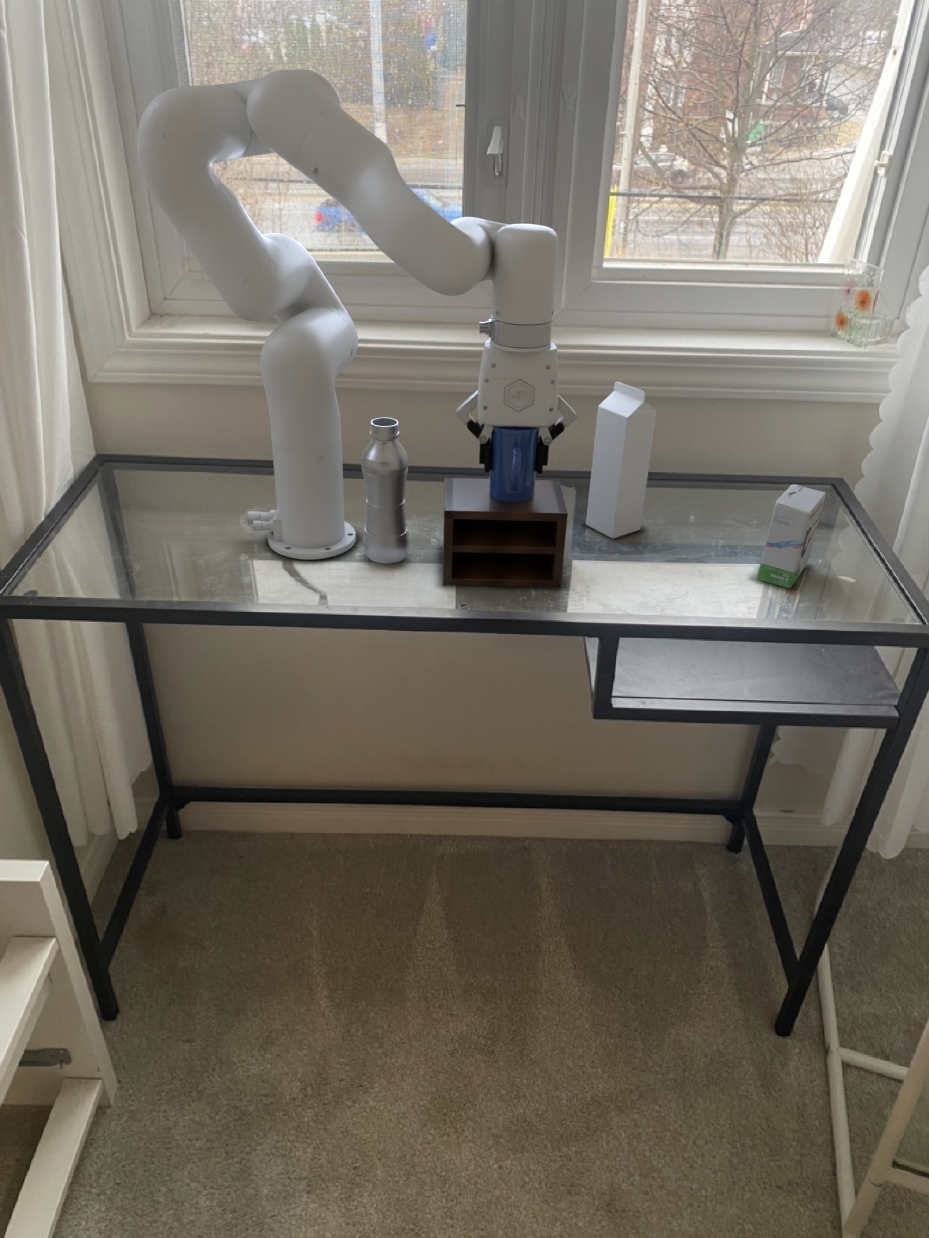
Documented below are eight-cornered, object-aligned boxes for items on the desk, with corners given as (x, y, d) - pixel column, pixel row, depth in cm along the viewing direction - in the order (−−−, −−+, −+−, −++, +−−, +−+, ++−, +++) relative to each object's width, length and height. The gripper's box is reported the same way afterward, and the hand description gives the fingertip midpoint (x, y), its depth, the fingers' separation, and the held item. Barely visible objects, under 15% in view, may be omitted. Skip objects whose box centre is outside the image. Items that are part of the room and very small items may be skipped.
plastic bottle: (374, 573, 132) (371, 433, 122) (356, 552, 137) (351, 417, 127) (417, 564, 135) (417, 427, 125) (397, 544, 140) (396, 411, 130)
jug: (488, 511, 124) (491, 437, 119) (485, 480, 133) (488, 410, 128) (539, 512, 125) (545, 438, 120) (533, 481, 133) (538, 411, 128)
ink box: (773, 557, 140) (789, 481, 134) (808, 566, 138) (827, 490, 132) (755, 580, 134) (771, 502, 128) (792, 590, 132) (810, 511, 126)
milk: (612, 539, 144) (629, 395, 132) (584, 524, 148) (599, 384, 136) (641, 529, 147) (660, 388, 136) (613, 515, 151) (629, 377, 140)
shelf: (442, 585, 130) (444, 510, 124) (443, 548, 139) (444, 477, 134) (560, 587, 130) (567, 513, 125) (553, 551, 140) (559, 480, 134)
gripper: (451, 339, 115) (447, 479, 124) (594, 343, 116) (580, 482, 125) (450, 323, 122) (447, 457, 131) (587, 327, 122) (574, 460, 131)
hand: (512, 468), depth 128 cm, fingers closed on jug, 6 cm apart
